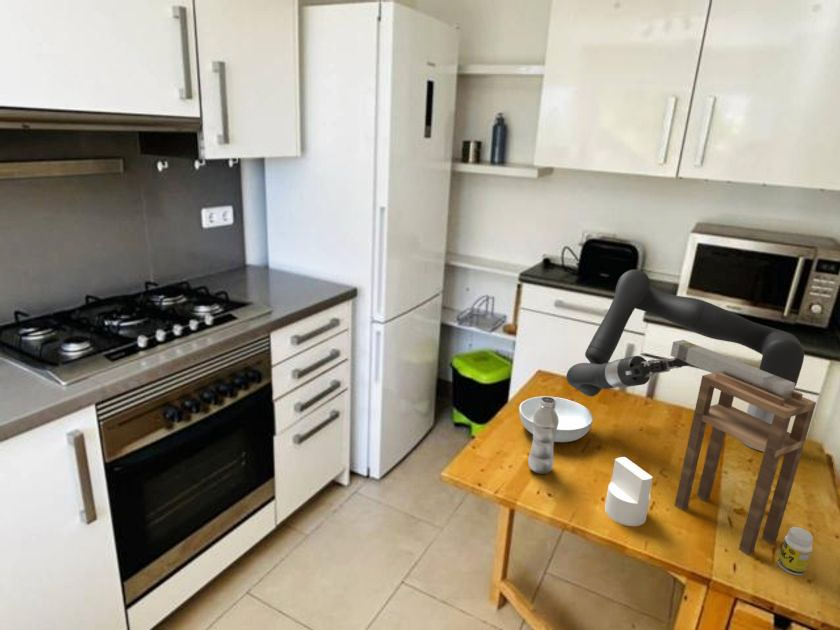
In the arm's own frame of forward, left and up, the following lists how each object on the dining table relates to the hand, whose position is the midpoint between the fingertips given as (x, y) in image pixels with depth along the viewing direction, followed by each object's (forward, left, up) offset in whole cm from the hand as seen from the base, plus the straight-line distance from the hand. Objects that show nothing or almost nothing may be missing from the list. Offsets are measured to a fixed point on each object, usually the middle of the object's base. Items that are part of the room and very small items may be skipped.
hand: (678, 363), depth 131 cm
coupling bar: (0, +12, +2) cm, 12 cm away
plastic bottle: (+25, -15, -32) cm, 43 cm away
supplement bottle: (0, +34, -32) cm, 47 cm away
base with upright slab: (+18, +7, -32) cm, 37 cm away
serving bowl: (+9, -29, -32) cm, 44 cm away
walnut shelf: (0, +19, -32) cm, 37 cm away
